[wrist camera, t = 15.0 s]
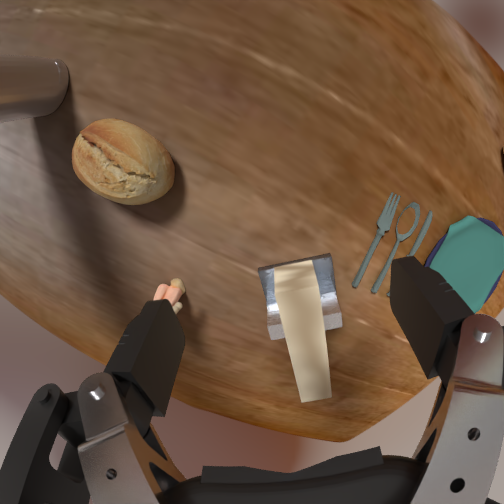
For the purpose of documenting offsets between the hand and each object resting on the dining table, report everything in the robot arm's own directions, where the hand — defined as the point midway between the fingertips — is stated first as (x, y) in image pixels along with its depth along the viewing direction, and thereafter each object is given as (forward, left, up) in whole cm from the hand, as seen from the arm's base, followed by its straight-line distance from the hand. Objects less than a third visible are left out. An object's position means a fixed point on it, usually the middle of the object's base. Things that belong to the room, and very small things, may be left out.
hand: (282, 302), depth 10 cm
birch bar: (0, -18, -18) cm, 25 cm away
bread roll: (-17, +7, -27) cm, 32 cm away
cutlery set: (+24, -19, -27) cm, 41 cm away
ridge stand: (0, -18, -26) cm, 32 cm away
